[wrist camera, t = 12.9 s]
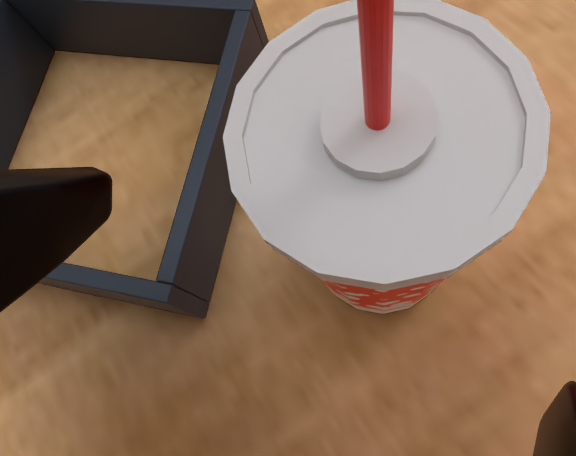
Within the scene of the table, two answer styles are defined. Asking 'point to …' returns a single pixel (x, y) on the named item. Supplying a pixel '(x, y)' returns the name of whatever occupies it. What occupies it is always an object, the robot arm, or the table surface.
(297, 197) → the beverage cup
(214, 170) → the box
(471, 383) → the table surface
